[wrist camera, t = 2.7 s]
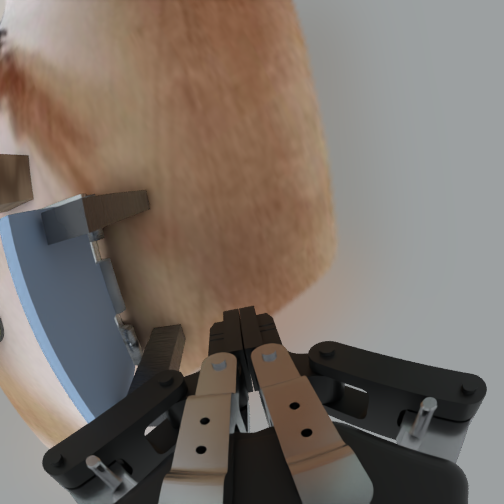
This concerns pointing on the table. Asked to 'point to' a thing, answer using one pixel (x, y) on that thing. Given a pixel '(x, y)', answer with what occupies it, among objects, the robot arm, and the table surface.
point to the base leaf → (91, 222)
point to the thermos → (1, 331)
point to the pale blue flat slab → (70, 311)
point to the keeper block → (14, 181)
